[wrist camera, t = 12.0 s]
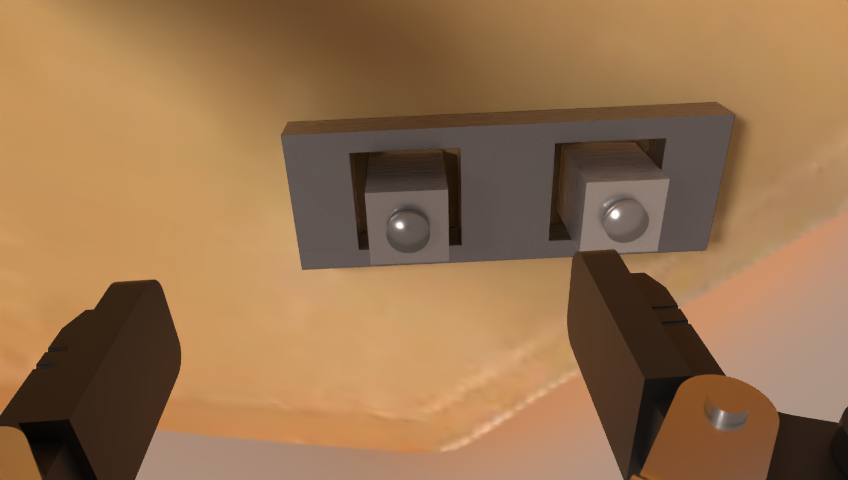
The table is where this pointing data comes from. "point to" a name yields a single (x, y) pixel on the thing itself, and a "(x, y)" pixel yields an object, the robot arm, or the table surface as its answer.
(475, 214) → the grey slotted board
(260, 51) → the table surface
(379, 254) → the knobbed grey cube
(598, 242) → the cube with silver knob
